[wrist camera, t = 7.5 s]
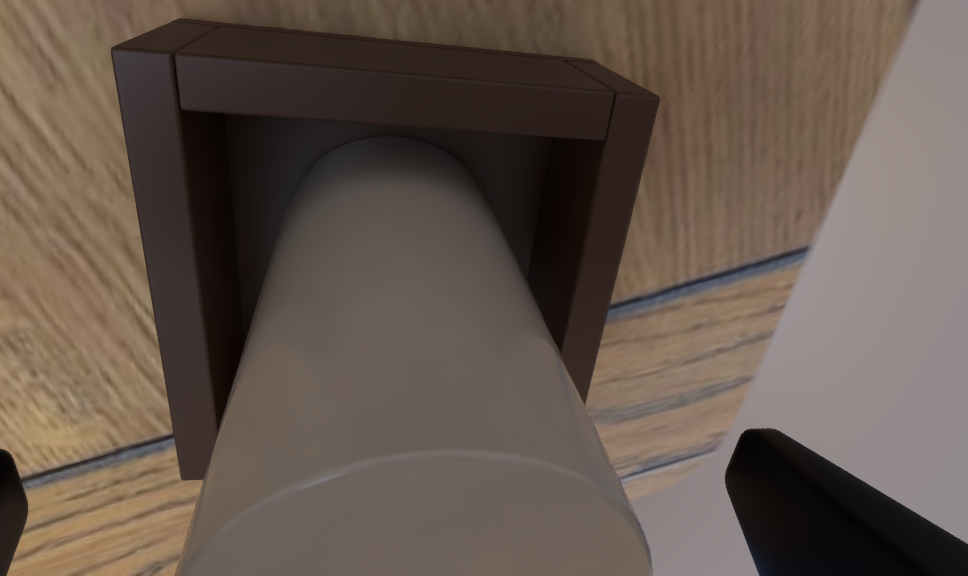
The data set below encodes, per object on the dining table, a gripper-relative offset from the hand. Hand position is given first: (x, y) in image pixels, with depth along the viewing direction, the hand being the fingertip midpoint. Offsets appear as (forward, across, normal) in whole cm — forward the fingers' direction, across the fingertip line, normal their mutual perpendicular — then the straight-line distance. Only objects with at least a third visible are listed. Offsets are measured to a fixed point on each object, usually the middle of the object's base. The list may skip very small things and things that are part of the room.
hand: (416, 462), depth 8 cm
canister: (+7, 0, 0) cm, 7 cm away
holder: (+7, 0, 0) cm, 7 cm away
